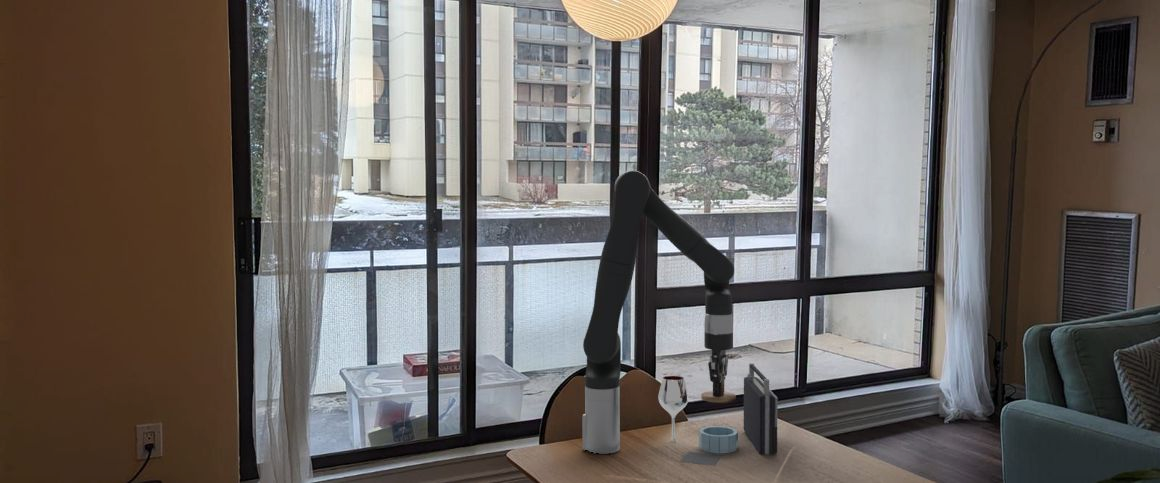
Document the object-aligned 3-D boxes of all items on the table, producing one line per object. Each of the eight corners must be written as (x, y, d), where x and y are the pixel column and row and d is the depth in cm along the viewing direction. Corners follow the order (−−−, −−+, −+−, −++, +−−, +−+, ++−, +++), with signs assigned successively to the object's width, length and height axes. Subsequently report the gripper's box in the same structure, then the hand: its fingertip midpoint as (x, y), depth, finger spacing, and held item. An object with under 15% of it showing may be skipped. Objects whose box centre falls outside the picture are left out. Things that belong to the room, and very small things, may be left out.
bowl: (695, 452, 224) (695, 434, 224) (704, 442, 234) (704, 424, 233) (733, 456, 221) (733, 437, 220) (740, 446, 230) (740, 428, 230)
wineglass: (694, 443, 233) (694, 378, 232) (671, 448, 228) (671, 382, 227) (674, 436, 240) (674, 373, 239) (652, 441, 235) (652, 377, 234)
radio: (779, 456, 221) (780, 380, 220) (759, 456, 221) (759, 380, 220) (761, 431, 245) (761, 362, 244) (743, 431, 245) (743, 362, 244)
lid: (731, 403, 221) (731, 381, 220) (697, 401, 224) (697, 378, 224) (738, 396, 229) (738, 374, 229) (705, 393, 232) (706, 371, 232)
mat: (679, 463, 215) (679, 461, 215) (688, 453, 224) (688, 451, 224) (714, 467, 212) (714, 465, 212) (722, 457, 220) (722, 455, 220)
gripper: (710, 326, 233) (710, 388, 234) (698, 333, 220) (698, 399, 221) (738, 327, 231) (737, 390, 231) (727, 335, 218) (726, 402, 218)
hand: (718, 394), depth 226 cm, fingers closed on lid, 2 cm apart
